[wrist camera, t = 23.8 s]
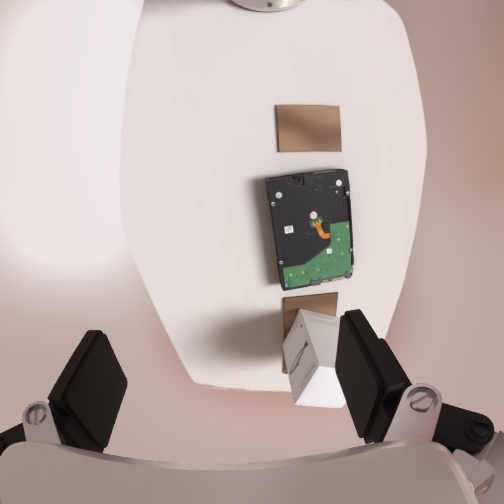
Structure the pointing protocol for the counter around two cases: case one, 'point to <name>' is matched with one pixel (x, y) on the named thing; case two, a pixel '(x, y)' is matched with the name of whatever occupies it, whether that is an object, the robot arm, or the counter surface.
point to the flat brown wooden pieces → (305, 140)
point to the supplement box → (313, 360)
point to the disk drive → (312, 227)
